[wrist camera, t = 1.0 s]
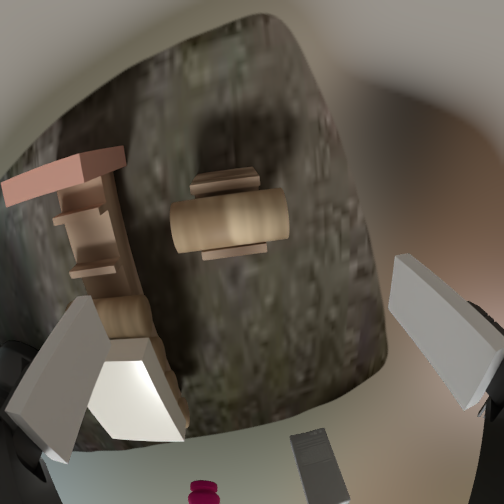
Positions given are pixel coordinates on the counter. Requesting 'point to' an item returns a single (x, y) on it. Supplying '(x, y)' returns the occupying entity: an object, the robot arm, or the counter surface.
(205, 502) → the pepper mill
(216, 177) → the pedestal
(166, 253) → the counter surface
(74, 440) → the robot arm
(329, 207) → the counter surface
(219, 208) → the roller
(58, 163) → the block
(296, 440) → the skincare box
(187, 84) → the counter surface
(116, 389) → the slab
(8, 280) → the counter surface
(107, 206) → the roller bed
